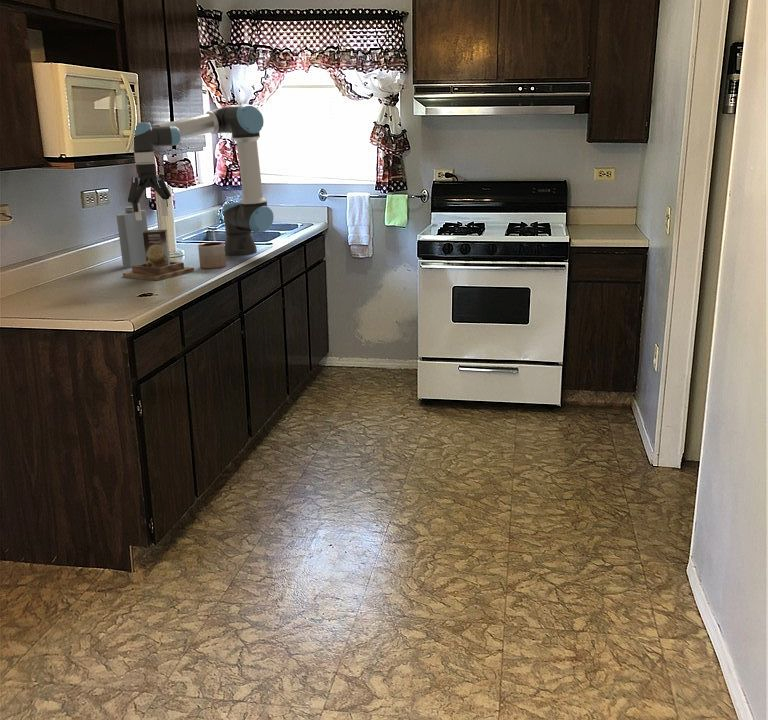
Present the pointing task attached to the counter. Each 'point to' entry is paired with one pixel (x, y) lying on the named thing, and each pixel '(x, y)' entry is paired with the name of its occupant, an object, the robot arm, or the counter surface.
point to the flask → (132, 237)
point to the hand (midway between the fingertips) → (152, 218)
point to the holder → (158, 271)
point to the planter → (212, 255)
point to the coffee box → (156, 248)
